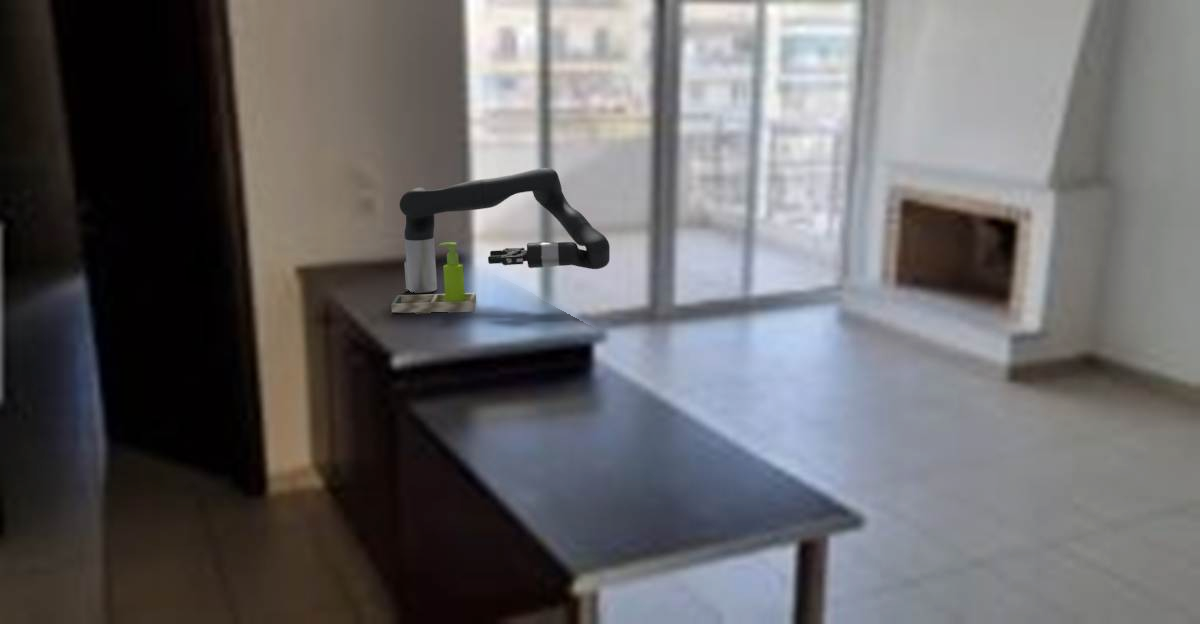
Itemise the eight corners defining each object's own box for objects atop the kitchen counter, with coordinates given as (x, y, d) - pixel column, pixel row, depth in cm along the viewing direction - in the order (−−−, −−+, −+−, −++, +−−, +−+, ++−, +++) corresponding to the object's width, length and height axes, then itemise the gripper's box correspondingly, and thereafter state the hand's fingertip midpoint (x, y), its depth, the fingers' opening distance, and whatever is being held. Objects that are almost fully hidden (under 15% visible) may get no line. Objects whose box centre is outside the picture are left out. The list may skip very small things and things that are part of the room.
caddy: (391, 314, 309) (391, 304, 309) (398, 304, 321) (397, 295, 320) (472, 311, 310) (472, 301, 309) (476, 302, 322) (475, 292, 321)
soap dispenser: (443, 305, 318) (439, 241, 313) (465, 304, 319) (462, 240, 314) (441, 310, 313) (437, 244, 308) (465, 309, 313) (461, 243, 308)
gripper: (543, 238, 319) (489, 240, 318) (542, 246, 305) (486, 249, 305) (544, 262, 321) (491, 264, 320) (543, 271, 307) (488, 274, 306)
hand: (489, 257), depth 312 cm, fingers open, 8 cm apart
